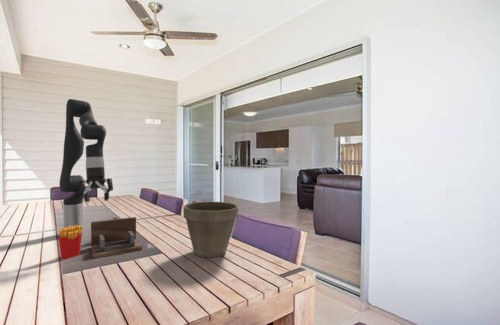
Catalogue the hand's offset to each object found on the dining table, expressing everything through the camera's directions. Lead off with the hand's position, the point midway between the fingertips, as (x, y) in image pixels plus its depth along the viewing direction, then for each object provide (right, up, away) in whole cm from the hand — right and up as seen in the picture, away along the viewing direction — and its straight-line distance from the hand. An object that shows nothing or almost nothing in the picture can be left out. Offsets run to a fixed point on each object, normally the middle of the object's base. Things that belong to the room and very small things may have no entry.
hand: (97, 201), depth 127 cm
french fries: (-7, -23, -8) cm, 25 cm away
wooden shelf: (+8, -23, +2) cm, 24 cm away
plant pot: (+54, -23, -2) cm, 59 cm away
